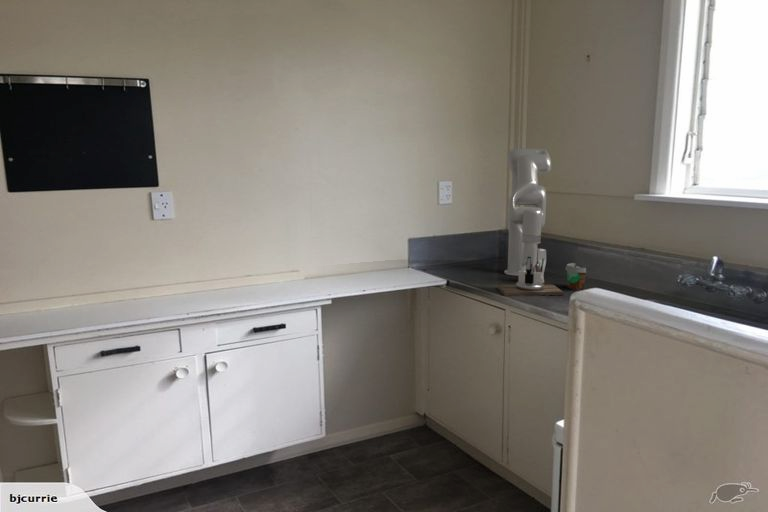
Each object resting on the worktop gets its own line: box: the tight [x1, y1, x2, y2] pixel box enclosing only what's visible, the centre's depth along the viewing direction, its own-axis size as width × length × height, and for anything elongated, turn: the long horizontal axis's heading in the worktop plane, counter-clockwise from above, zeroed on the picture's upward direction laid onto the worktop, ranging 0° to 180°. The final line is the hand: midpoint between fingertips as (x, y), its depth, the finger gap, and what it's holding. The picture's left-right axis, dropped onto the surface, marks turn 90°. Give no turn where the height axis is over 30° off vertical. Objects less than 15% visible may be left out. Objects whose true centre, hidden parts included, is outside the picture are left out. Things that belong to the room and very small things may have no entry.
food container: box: [565, 262, 587, 291], centre depth 261 cm, size 12×6×10 cm, turn 5°
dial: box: [516, 271, 545, 290], centre depth 255 cm, size 11×11×7 cm
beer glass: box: [534, 248, 547, 284], centre depth 273 cm, size 7×7×15 cm
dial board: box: [496, 283, 565, 297], centre depth 255 cm, size 15×24×2 cm, turn 91°
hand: (529, 282), depth 255 cm, fingers closed on dial, 3 cm apart
